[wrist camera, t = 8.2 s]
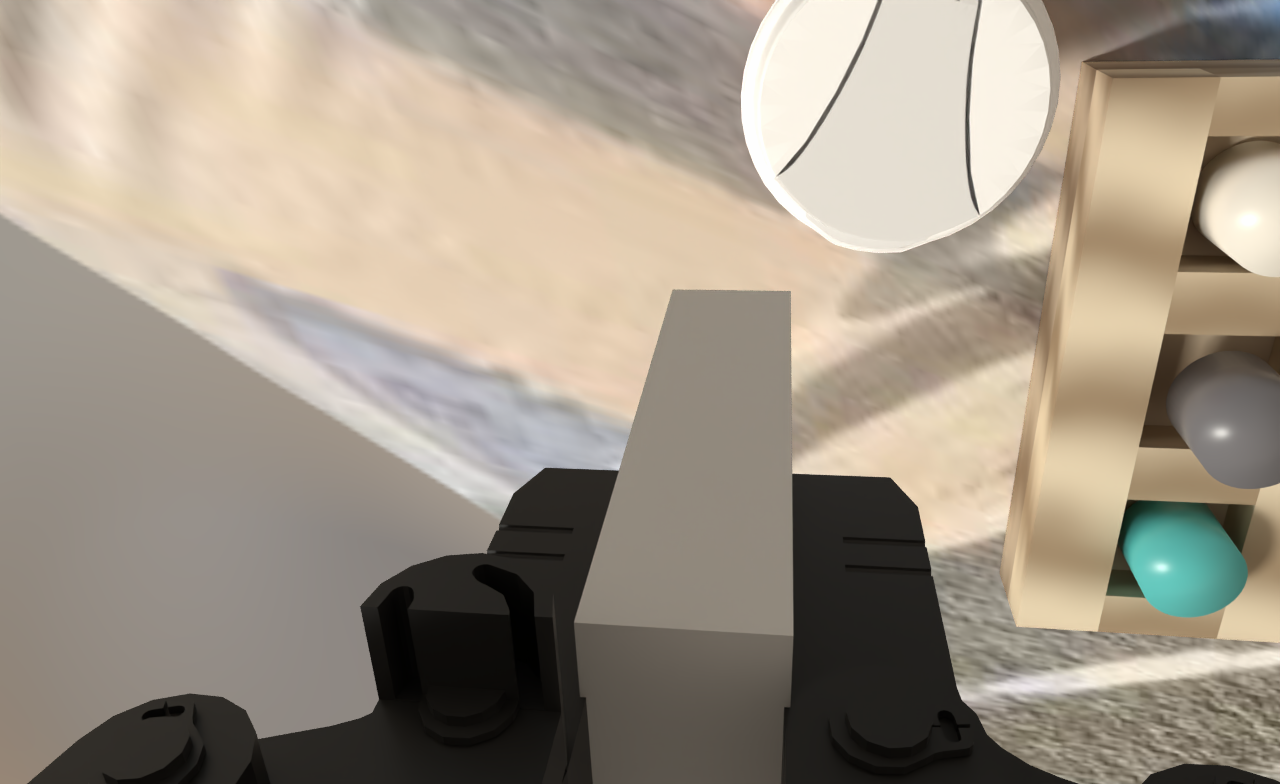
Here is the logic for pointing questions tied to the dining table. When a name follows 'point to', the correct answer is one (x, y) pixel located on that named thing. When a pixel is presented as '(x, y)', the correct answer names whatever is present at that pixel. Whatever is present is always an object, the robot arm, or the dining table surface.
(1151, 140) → the wooden button tray
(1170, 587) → the teal button
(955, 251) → the dining table surface
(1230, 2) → the dining table surface
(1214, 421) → the gray button
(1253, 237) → the white rounded cylinder
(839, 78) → the coffee cup
